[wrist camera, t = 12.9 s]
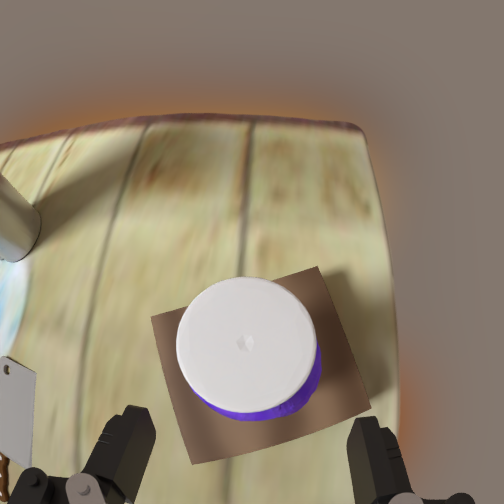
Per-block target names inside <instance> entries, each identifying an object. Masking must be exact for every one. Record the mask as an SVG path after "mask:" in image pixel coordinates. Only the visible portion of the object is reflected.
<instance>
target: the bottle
mask: <svg viewBox="0 0 504 504" xmlns="http://www.w3.org/2000/svg"><path fill="white" fill-rule="evenodd" d="M176 351H177V359H178V362H179V366H180V368H181V371H182V373H183V375H184V377H185V379H186V380H187V382H188V383H189V385H190V387H191V388H192V390H193V391H194V393H195V394H196V395H197V396H198V397H199V398H200V399H201V400H202V401H203V402H204V403H205V404H206V405H208V406H209V407H210V408H212V409H213V410H214V411H216V412H218V413H219V414H221V415H223V416H226V417H228V418H231V419H235V420H239V421H263V420H269V419H274V418H277V417H284V416H288V415H291V414H293V413H295V412H297V411H298V410H300V409H301V408H302V407H303V406H304V405H305V404H306V403H307V402H308V401H309V398H310V396H311V395H312V394H313V393H314V392H315V390H316V389H317V386H318V382H319V379H320V376H321V371H322V367H321V351H320V347H319V345H318V341H317V338H316V333H315V328H314V325H313V322H312V320H311V317H310V315H309V313H308V311H307V309H306V308H305V306H304V305H303V304H302V303H301V302H300V300H299V299H298V298H297V297H296V296H295V295H294V294H292V293H291V292H290V291H289V290H287V289H286V288H284V287H283V286H281V285H279V284H277V283H275V282H272V281H269V280H266V279H263V278H257V277H236V278H230V279H227V280H224V281H221V282H218V283H216V284H213V285H211V286H210V287H208V288H207V289H206V290H204V291H203V292H202V293H200V294H199V295H198V296H197V297H196V298H195V299H194V300H193V301H192V302H191V304H190V305H189V306H188V308H187V309H186V311H185V313H184V314H183V316H182V319H181V321H180V324H179V327H178V332H177V338H176Z"/></svg>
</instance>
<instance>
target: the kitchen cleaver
mask: <svg viewBox="0 0 504 504" xmlns="http://www.w3.org/2000/svg"><path fill="white" fill-rule="evenodd" d="M7 366H9V367H10V374H9V375H8V374H7V372H6V368H7ZM35 385H36V373H35V372H33V371H32V370H30V369H28V368H26V367H24V366H22V365H20V364H18V363H16V362H14V361H13V360H11V359H9V358H7V357H5V356H2V357H1V358H0V500H1V501H2V502H6V501H8V500H9V496H8V493H7V490H6V486H7V471H6V465H7V464H8V458H9V459H11V460H12V461H14V462H15V463H17V464H19V465H20V466H22V467H23V468H25V469H28V468H31V467H32V438H33V422H34V400H35Z"/></svg>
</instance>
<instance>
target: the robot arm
mask: <svg viewBox="0 0 504 504" xmlns="http://www.w3.org/2000/svg"><path fill="white" fill-rule="evenodd" d="M40 226H41V219H40V215H39V213H38V212H37V211H36V210H35V209H34V208H33V207H32V206H31V205H30V204H29V203H28V202H27V200H26V199H25V198H24V197H23V196H22V195H21V194H20V193H19V192H18V191H17V190H16V189H15V188H14V187H13V186H12V185H11V184H10V183H9V181H8V180H7V179H6V178H5V177H4V176H3V175H2V174H1V173H0V260H2V259H5V260H7V261H8V262H16V261H18V260H20V259H22V258H23V257H24V256H25V255H26V254H27V253H28V252H29V251H30V250H31V248H32V247H33V245H34V243H35V242H36V239H37V237H38V234H39V231H40ZM155 439H156V430H155V427H154V425H153V422H152V419H151V417H150V414H149V411H148V409H147V408H144V407H138V406H133V405H128V406H127V407H126V408H125V410H124V412H123V415H122V416H121V415H117V414H116V415H115V416H114V417H112V418H111V419H110V420H109V421H108V422H107V423H106V425H105V427H104V429H103V431H102V434H101V435H100V437H99V439H98V442H97V443H96V445H95V447H94V449H93V451H92V453H91V455H90V457H89V459H88V461H87V463H86V466H85V468H84V469H83V471H82V472H81V473H77V474H74V475H72V476H71V477H70V478H62V477H53V476H47V475H46V474H45V473H44V472H43V471H42V470H41V469H39V468H35V467H31V468H28V469H26V470H24V471H23V472H22V474H21V475H20V477H19V479H18V481H17V484H16V486H15V488H14V490H13V492H12V494H11V496H10V499H9V501H8V503H7V504H124V503H125V502H126V503H130V504H134V502H135V499H136V496H137V493H138V490H139V487H140V484H141V481H142V478H143V475H144V472H145V469H146V466H147V463H148V461H149V458H150V455H151V452H152V449H153V446H154V443H155ZM347 455H348V461H349V467H350V473H351V479H352V486H353V492H354V499H355V504H475V502H474V500H473V498H472V497H471V496H470V495H468V494H466V493H457V494H454V495H453V496H451V497H450V498H449V499H447V500H426V499H423V498H420V497H419V496H417V495H416V494H415V493H414V492H413V490H412V489H411V486H410V482H409V479H408V475H407V472H406V468H405V465H404V462H403V458H402V457H401V456H402V455H401V452H400V449H399V445H398V442H397V439H396V436H395V435H394V434H393V433H392V432H391V430H390V429H389V428H388V427H385V428H380V426H379V423H378V420H377V418H376V416H369V417H360V418H356V419H355V421H354V424H353V427H352V429H351V432H350V434H349V437H348V440H347Z"/></svg>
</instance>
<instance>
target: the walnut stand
mask: <svg viewBox="0 0 504 504" xmlns="http://www.w3.org/2000/svg"><path fill="white" fill-rule="evenodd" d="M272 282H275V283H277V284H279V285H281V286H283V287H284V288H286V289H287V290H289V291H290V292H291V293H292V294H294V295H295V296H296V297H297V298H298V299H299V300H300V302H301V303H302V304H303V305H304V306H305V308H306V309H307V311H308V313H309V315H310V317H311V320H312V322H313V325H314V328H315V333H316V338H317V341H318V345H319V347H320V351H321V367H322V371H321V376H320V379H319V382H318V386H317V389H316V390H315V392H314V393H313V394H312V395H311V396H310V398H309V401H308V402H307V403H306V404H305V405H304V406H303V407H302V408H301V409H300V410H298V411H297V412H295V413H293V414H291V415H288V416H284V417H277V418H274V419H269V420H263V421H239V420H235V419H231V418H228V417H226V416H223V415H221V414H219V413H218V412H216V411H214V410H213V409H212V408H210V407H209V406H208V405H206V404H205V403H204V402H203V401H202V400H201V399H200V398H199V397H198V396H197V395H196V394H195V393H194V391H193V390H192V388H191V387H190V385H189V383H188V382H187V380H186V379H185V377H184V375H183V373H182V371H181V368H180V366H179V362H178V359H177V351H176V338H177V332H178V327H179V324H180V321H181V319H182V316H183V314H184V313H185V311H186V309H187V308H188V306H187V307H183V308H180V309H176V310H173V311H169V312H166V313H162V314H159V315H155V316H152V317H151V321H152V325H153V330H154V335H155V339H156V344H157V348H158V352H159V356H160V360H161V364H162V368H163V372H164V376H165V380H166V384H167V387H168V391H169V395H170V398H171V402H172V405H173V409H174V412H175V415H176V418H177V422H178V425H179V428H180V431H181V434H182V437H183V440H184V443H185V446H186V449H187V452H188V455H189V458H190V460H191V463H192V465H194V464H200V463H205V462H210V461H215V460H220V459H225V458H229V457H233V456H238V455H242V454H246V453H250V452H254V451H257V450H261V449H264V448H268V447H271V446H275V445H278V444H281V443H284V442H288V441H291V440H294V439H297V438H300V437H303V436H305V435H308V434H311V433H314V432H316V431H319V430H322V429H324V428H327V427H330V426H332V425H335V424H337V423H339V422H342V421H344V420H347V419H349V418H351V417H354V416H356V415H358V414H360V413H363V412H365V411H367V410H369V409H371V405H370V402H369V399H368V396H367V393H366V390H365V388H364V385H363V382H362V379H361V376H360V373H359V371H358V368H357V365H356V362H355V360H354V357H353V354H352V352H351V349H350V346H349V344H348V341H347V338H346V336H345V333H344V330H343V328H342V325H341V323H340V320H339V318H338V315H337V313H336V310H335V307H334V305H333V302H332V300H331V297H330V295H329V293H328V290H327V288H326V285H325V283H324V280H323V278H322V276H321V273H320V271H319V268H318V266H316V267H313V268H310V269H307V270H304V271H301V272H298V273H295V274H292V275H288V276H285V277H282V278H279V279H276V280H273V281H272Z"/></svg>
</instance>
